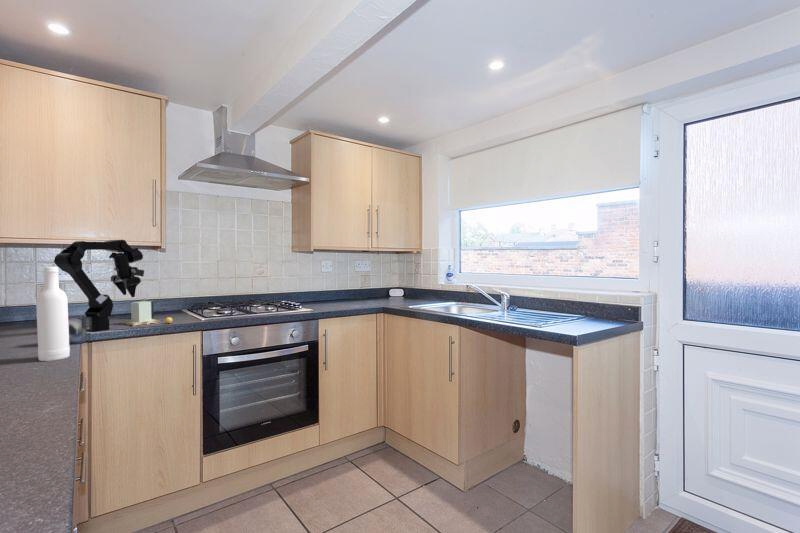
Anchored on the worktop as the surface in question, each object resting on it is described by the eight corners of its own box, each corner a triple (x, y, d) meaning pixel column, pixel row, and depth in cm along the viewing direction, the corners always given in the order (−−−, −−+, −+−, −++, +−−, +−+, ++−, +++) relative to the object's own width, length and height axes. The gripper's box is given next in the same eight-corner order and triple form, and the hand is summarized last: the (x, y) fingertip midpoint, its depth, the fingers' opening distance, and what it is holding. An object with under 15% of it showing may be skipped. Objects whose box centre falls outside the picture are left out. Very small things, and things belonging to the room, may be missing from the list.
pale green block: (139, 322, 198) (138, 303, 198) (131, 321, 201) (130, 302, 201) (151, 320, 204) (150, 301, 203) (143, 319, 206) (143, 301, 206)
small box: (47, 346, 151) (46, 318, 151) (54, 343, 157) (53, 316, 157) (82, 343, 156) (81, 316, 155) (87, 340, 162) (86, 314, 161)
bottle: (31, 361, 129) (27, 267, 128) (52, 355, 137) (48, 266, 136) (56, 361, 129) (52, 267, 128) (76, 355, 137) (72, 266, 136)
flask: (133, 319, 218) (133, 299, 218) (135, 318, 221) (134, 298, 220) (153, 318, 221) (152, 298, 221) (154, 317, 224) (154, 297, 223)
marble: (167, 324, 198) (166, 317, 198) (164, 323, 200) (163, 317, 200) (173, 323, 201) (173, 317, 201) (170, 322, 203) (170, 316, 203)
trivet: (133, 326, 194) (133, 323, 194) (122, 324, 201) (122, 321, 201) (160, 322, 204) (160, 320, 204) (149, 320, 211) (149, 318, 211)
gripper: (149, 263, 198) (155, 293, 202) (131, 260, 209) (137, 289, 212) (123, 268, 190) (130, 300, 193) (107, 265, 200) (114, 295, 204)
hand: (129, 295), depth 201 cm, fingers open, 9 cm apart
